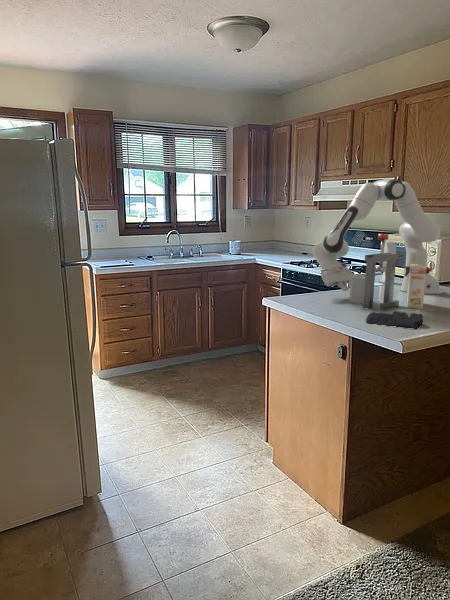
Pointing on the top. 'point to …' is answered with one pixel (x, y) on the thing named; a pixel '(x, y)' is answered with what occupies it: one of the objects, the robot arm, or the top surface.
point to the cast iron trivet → (396, 319)
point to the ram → (382, 252)
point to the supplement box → (357, 289)
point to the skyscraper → (388, 248)
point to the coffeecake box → (416, 286)
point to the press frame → (389, 280)
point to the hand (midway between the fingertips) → (346, 290)
